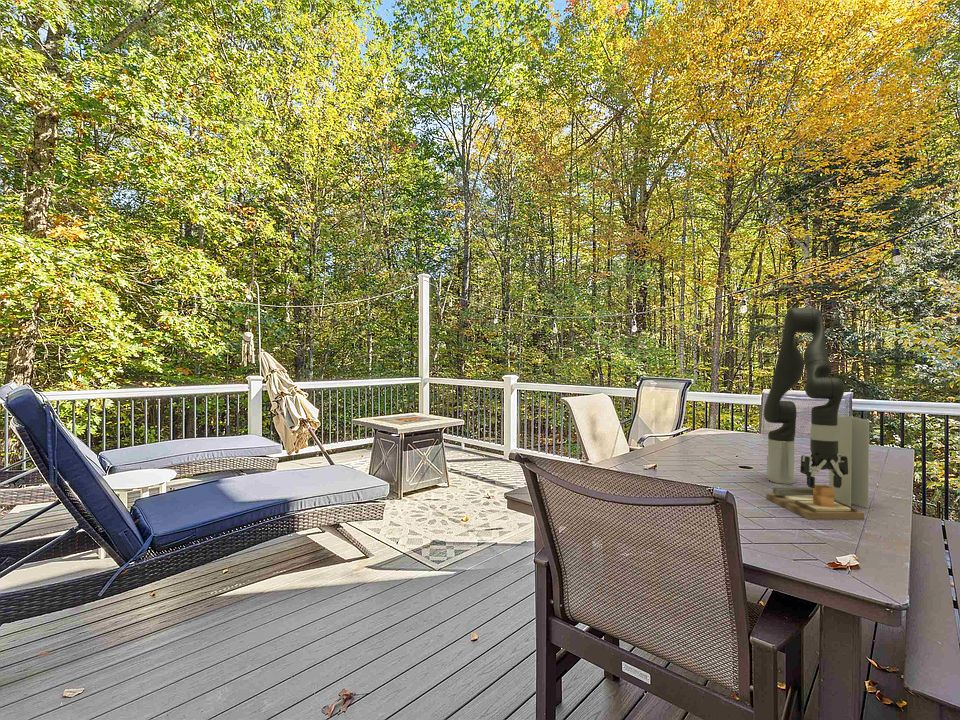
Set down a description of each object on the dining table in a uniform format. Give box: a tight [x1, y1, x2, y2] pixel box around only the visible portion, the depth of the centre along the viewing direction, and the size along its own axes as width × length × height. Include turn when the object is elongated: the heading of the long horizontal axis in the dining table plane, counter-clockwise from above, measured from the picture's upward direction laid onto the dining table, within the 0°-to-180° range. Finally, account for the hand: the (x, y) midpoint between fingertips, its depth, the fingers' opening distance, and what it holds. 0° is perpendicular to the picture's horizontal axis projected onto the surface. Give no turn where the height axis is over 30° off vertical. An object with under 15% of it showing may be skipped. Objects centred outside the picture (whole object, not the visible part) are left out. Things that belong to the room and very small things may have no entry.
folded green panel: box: [828, 415, 870, 509], centre depth 172 cm, size 14×6×30 cm, turn 168°
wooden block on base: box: [799, 484, 851, 511], centre depth 159 cm, size 8×12×7 cm, turn 91°
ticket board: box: [765, 486, 865, 520], centre depth 165 cm, size 22×18×5 cm
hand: (824, 487), depth 159 cm, fingers open, 8 cm apart
